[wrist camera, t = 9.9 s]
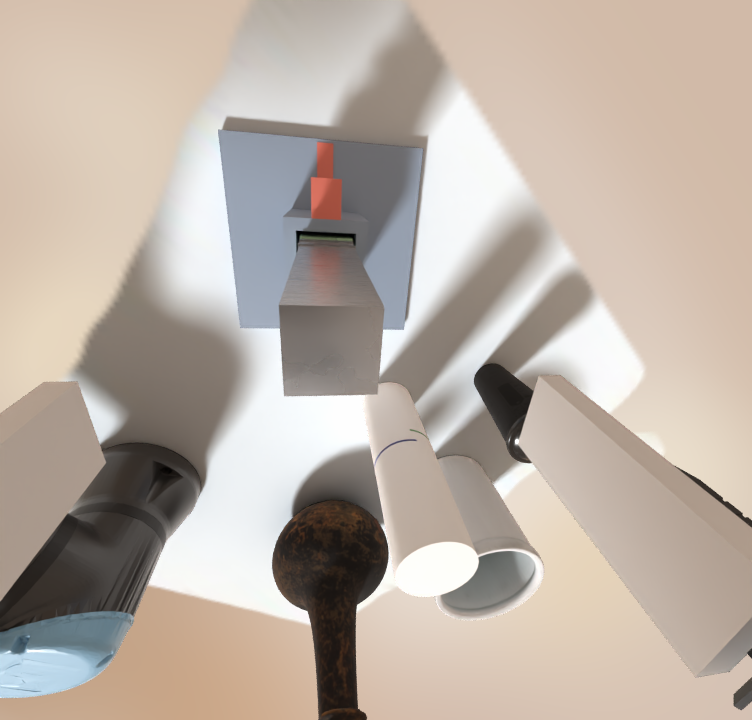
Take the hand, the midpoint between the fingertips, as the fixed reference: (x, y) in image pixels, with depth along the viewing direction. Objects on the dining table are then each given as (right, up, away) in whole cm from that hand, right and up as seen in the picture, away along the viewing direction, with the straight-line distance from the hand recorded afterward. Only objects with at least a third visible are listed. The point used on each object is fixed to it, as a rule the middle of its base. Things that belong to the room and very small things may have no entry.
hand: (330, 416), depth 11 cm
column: (-3, +12, +23) cm, 26 cm away
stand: (-4, +15, +29) cm, 33 cm away
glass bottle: (-7, -26, +50) cm, 57 cm away
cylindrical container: (+3, -4, +41) cm, 41 cm away
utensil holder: (+14, -20, +50) cm, 56 cm away
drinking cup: (+18, -1, +41) cm, 45 cm away
